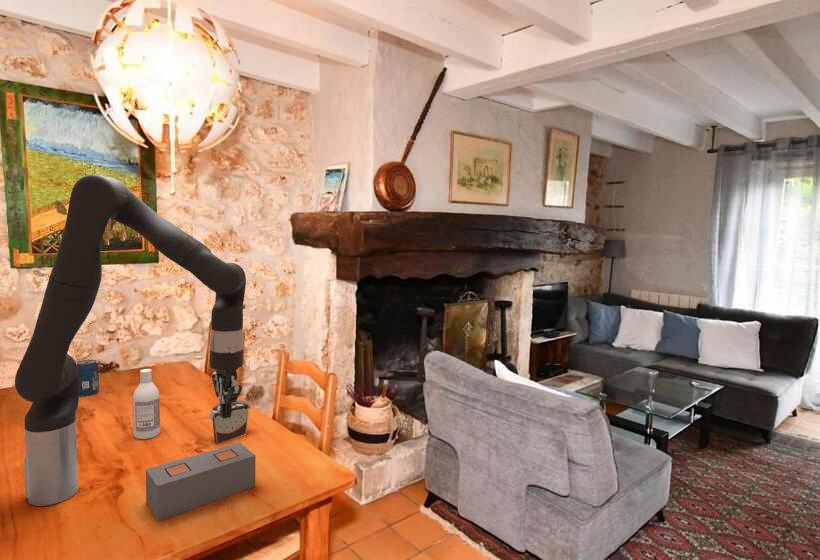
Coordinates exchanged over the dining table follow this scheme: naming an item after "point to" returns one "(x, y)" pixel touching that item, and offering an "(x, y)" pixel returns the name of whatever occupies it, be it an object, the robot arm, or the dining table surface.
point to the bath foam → (146, 407)
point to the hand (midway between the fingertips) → (225, 416)
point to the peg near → (177, 470)
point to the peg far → (225, 455)
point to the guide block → (199, 481)
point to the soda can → (88, 377)
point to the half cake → (230, 422)
